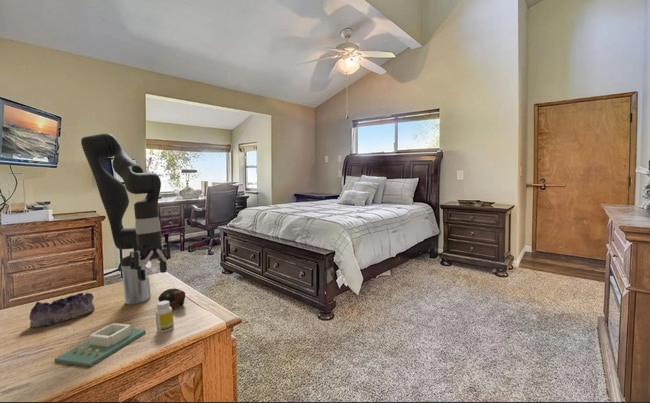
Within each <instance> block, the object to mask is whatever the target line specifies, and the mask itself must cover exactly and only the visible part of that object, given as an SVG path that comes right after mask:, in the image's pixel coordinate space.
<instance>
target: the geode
mask: <svg viewBox="0 0 650 403" xmlns="http://www.w3.org/2000/svg"><path fill="white" fill-rule="evenodd" d="M93 300H94V295H93V293H90V292H85V294H84V293H83V292H80V293H77V294H75V295H72V294H71V295H69V296H66V297H65V298H59V299H56V300H53V301H52V302H51V303H49V302H40V301H37V302H36V303H35V305H34V306H33V307H32V308H31V309H30V312H29V316H28V317H29V321H30V323H29V326H30V329H31V328H32V329H39V328H40V329H41V328H45V327H48V326H51V325H55V324H58V323H60V322H64V321H68V320H72V319H76V318H79V317H81V316H85V315H87V314H89V313H91V312H94V311H95V304H94V303H93Z"/></svg>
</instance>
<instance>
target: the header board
mask: <svg viewBox="0 0 650 403" xmlns="http://www.w3.org/2000/svg"><path fill="white" fill-rule="evenodd" d="M144 334H146V330H144V329H136V328H132V324H128V323H126V324H125V323H118V322H116V323H115V322H113V323H110V324H107V325H105V326H104V327H102V328H100V329H98V330H96V331H94V332H92V333H91V334H90V335H89V336H88V339H89V340H87V341H85V342H83V343H82V344H79V345H78V346H77V345H75V346H73V348H72V349H70V350H69V351H66V352H64V353H63V354H60V355H58V356H56V357H55V358H54V362H55V363H63V364H67V363H68V365H73V364H75V365H74V366H79V365H84V366H83V367H86V366H91V365H92V366H94V365H95V364H94V363H96V362H97V363H98V361H99V360H101V359H102V360H103V358H104V359H106V358H108V357H109V356H111V354H113V353H116V352H117V351H119V350H120V349H122V348H124V347H125V346H127V345H129V344H130V343H131V342H134V341H135V340H136V339H138V338H140V337H142V336H143V335H144ZM102 360H101V361H102ZM99 362H100V361H99ZM97 363H96V364H97ZM93 364H94V365H93ZM92 366H91V367H92Z"/></svg>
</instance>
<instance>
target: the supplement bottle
mask: <svg viewBox="0 0 650 403" xmlns="http://www.w3.org/2000/svg"><path fill="white" fill-rule="evenodd" d="M169 305H170V303H169V301H161V302H157V303H156V310H155V321H156V330H157V332H159V333H165V332H168V331H170V330H172V329H174V327H175V326H174V314H173V310H172V308H171V307H170V306H169Z"/></svg>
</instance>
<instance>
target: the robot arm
mask: <svg viewBox="0 0 650 403" xmlns="http://www.w3.org/2000/svg"><path fill="white" fill-rule="evenodd" d="M80 141H81V144H80V145H81V148H82V151H83V152H84V156H85V158H86V160H87V162H88V164H89V167H90V170H91V172H92V174H93V177H94V180H95V183H96V186H97V190H98V192H99V195H100V196H99V197H100V200H101V202H102V205H103V207H104V210H105V213H106V215H107V219H108V222H109V226H110V231H111V235H112V240H113V243H114V245H115V248H117V249H118V250H132V249H133V250H132V251H129V255H127V256H125V257H122V258H121V260H120V265H121V272H122V273H121V274H122V282H123V283H122V284H123V291H124V292H123V294H124V301H125V304H126V305H137V304H141V303H143V302H144V303H145V302H146V301H148V300H149V299H150V298H151V285H150V278H149V276H148V274H147V273H148V272H147V265H148V263H149V261H152V260H157V261H159V273H161V274H162V273H163V274H164V273H167V270H168V266H167V261H168V260H170V259H171V258H172V255H171V249H170V244H169V243H168V242H162V241H163V239H162V229H161V228H162V226H161V222H160V217H159V208H158V206H159V204H158V203H159V200H160V199H159V198H160V192H161V187H162V180H161V178H160V176H159V175H158V174H157V173H154V172H144V170H143V168H142V166H141V165H139V164H138V163H137V162H136V161H135V160H134V159H132V158H131V157H130V155H129V154H128V153H127V152H126V150H125V149H124V147H123V146H122V144H121V143H120V142H119V141H118V139H116V137H115V136H114V135H112V134H111V133H109V132H108V133H100V134H95V135H94V134H93V135H88V136H84V137H81V140H80ZM109 158H113V159H112V168H113V171H114V172H115V173H116V174H117V175H118V176H119V177H120V178H121V179H122V180H123V182H121V181H120V180H119V179H117V178H116V177H114V176H113V175H112V174H110V173H109V172H108V171H107V170H106V169H105V168H104V166H103V165H102V164H101V161H102V160H104V159H109ZM100 160H101V161H100ZM127 192H129V194H133V195H141V194H142V195H143V194H146V195H145V198H144V199H142V200H139V201H136V202H135V203H134V205H133V207H134V208H133V210H134V219H135V221H134V224H135V225H134V227H130V228H129V227H128V228H126V227H125V228H124V226H123V218H124V216H125V213H126V211H127V209H128V207H129V203H130V199H129V194H128V193H127Z"/></svg>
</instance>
